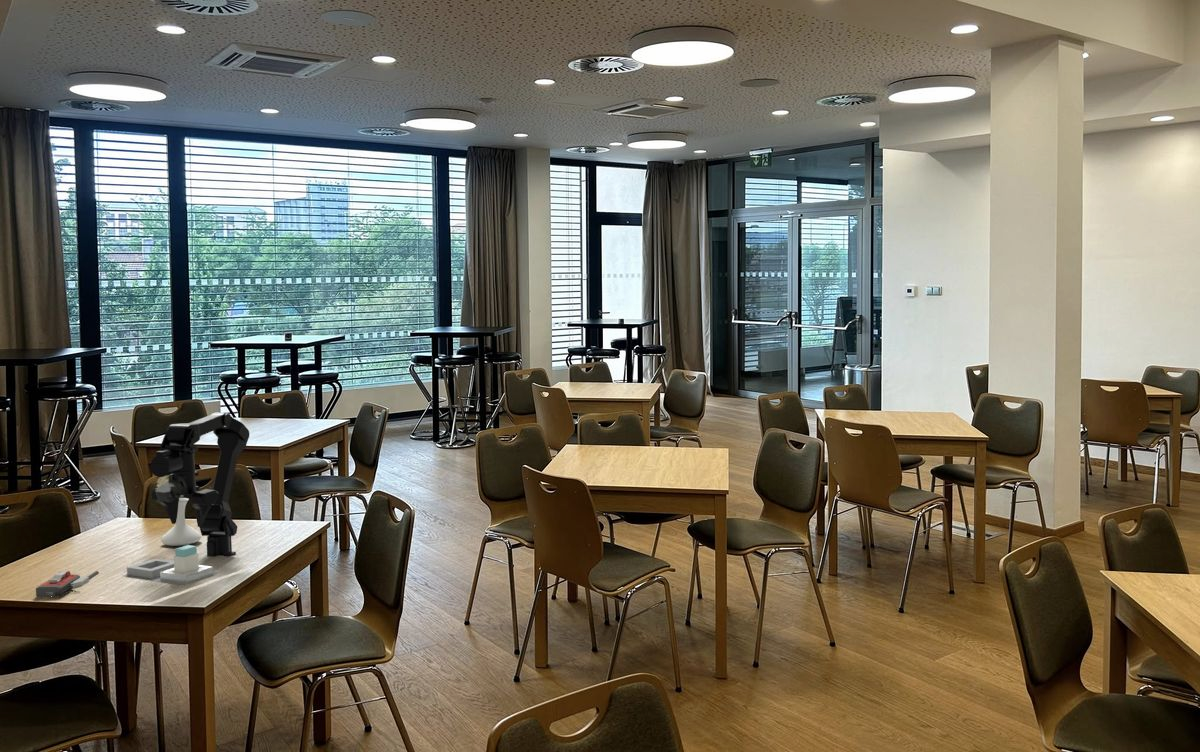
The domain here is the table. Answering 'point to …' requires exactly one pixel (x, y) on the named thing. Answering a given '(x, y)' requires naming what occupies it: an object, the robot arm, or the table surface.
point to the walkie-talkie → (61, 584)
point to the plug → (186, 559)
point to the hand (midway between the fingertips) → (186, 525)
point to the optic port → (186, 574)
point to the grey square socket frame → (150, 568)
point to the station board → (163, 580)
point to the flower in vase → (179, 524)
